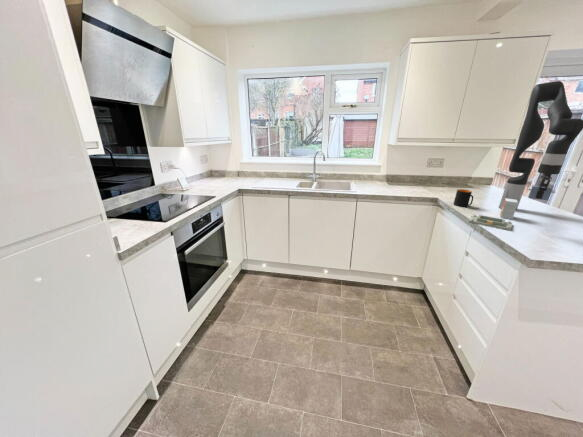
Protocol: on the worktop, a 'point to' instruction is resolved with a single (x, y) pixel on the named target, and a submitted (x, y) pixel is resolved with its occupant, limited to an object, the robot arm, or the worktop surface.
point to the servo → (535, 190)
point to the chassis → (491, 222)
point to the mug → (463, 198)
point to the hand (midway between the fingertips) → (538, 197)
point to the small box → (508, 208)
